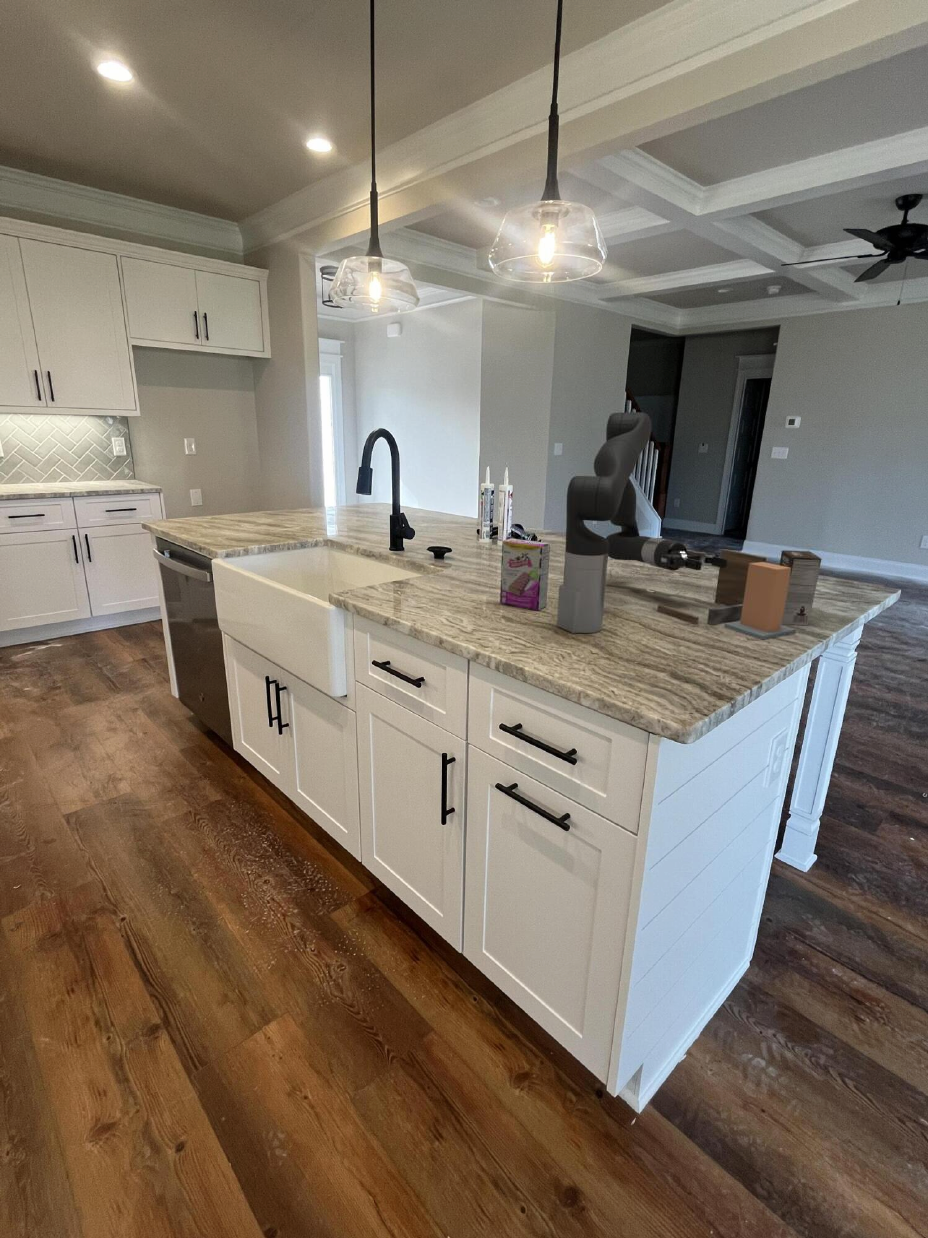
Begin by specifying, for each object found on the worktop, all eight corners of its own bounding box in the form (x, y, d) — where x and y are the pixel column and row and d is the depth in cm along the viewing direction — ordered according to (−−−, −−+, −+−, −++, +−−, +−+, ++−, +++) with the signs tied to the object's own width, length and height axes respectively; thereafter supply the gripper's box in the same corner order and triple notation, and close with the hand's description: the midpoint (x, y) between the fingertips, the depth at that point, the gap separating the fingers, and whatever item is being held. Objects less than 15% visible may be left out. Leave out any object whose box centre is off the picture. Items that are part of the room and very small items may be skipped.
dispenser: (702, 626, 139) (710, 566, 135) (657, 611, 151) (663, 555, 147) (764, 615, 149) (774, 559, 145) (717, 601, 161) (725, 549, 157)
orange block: (766, 632, 133) (777, 569, 129) (739, 623, 139) (749, 563, 135) (780, 629, 135) (791, 567, 131) (753, 621, 141) (762, 561, 137)
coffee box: (769, 613, 151) (780, 549, 146) (797, 615, 149) (809, 550, 145) (780, 624, 142) (792, 556, 137) (810, 626, 141) (823, 557, 136)
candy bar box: (498, 604, 155) (501, 540, 150) (508, 600, 159) (510, 537, 154) (538, 611, 149) (542, 545, 144) (547, 607, 153) (551, 542, 148)
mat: (762, 639, 131) (763, 636, 130) (724, 626, 139) (724, 623, 139) (795, 633, 135) (796, 629, 135) (756, 621, 144) (757, 617, 144)
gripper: (644, 540, 155) (693, 550, 141) (685, 538, 161) (736, 547, 148) (641, 569, 157) (689, 582, 143) (681, 565, 164) (731, 577, 150)
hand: (713, 564), depth 146 cm, fingers open, 8 cm apart
